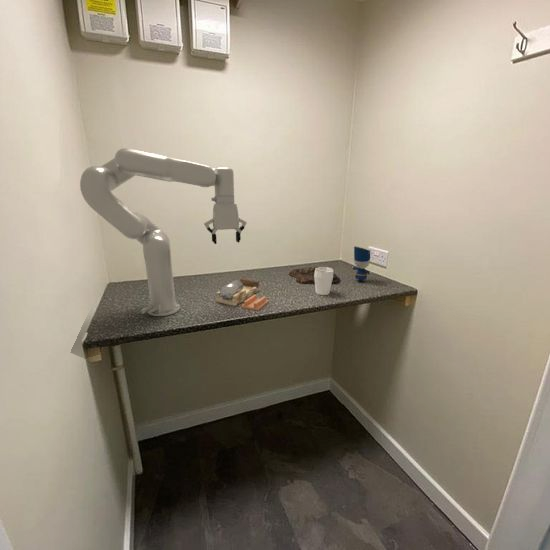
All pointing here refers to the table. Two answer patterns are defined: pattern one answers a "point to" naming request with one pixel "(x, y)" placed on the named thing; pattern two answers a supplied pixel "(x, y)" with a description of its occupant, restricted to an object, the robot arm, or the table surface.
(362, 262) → the figurine
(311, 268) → the stone relief
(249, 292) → the beige elongated piece
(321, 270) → the cup
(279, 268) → the table surface
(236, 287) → the grey metal cylinder
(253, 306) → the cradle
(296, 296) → the table surface
